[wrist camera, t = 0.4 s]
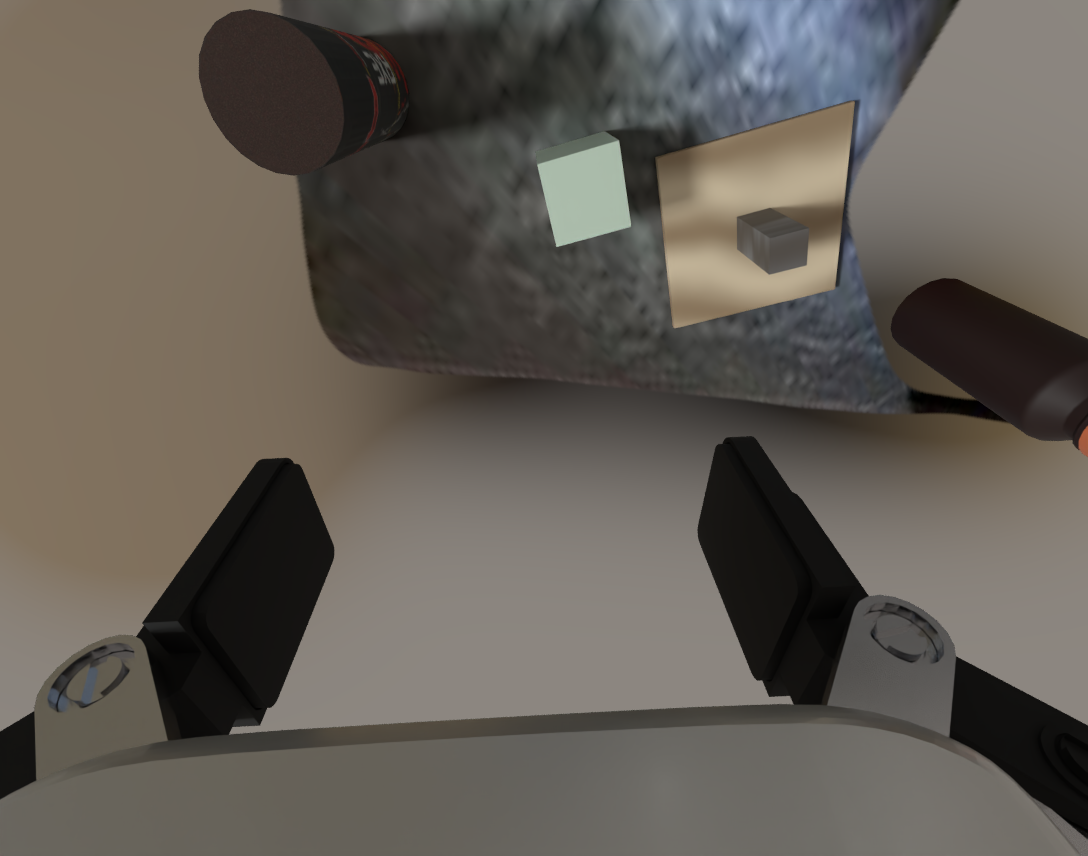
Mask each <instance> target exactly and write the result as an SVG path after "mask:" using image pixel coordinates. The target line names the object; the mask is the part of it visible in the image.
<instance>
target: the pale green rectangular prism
mask: <svg viewBox="0 0 1088 856" xmlns="http://www.w3.org/2000/svg"><path fill="white" fill-rule="evenodd" d="M535 153H536V159H537V165H538V169H539V174H540V178H541V182H542V186H543V191H544V195H545V199H546V204H547V208H548V212H549V216H550V221H551V225H552V229H553V233H554V238H555V242H556V246H557V247H558V246H562V245H566V244H569V243H573V242H577V241H580V240H584V239H587V238H591V237H595V236H598V235H602V234H606V233H609V232H613V231H617V230H620V229H624V228H628V227H631V222H630V215H629V208H628V200H627V193H626V186H625V179H624V172H623V165H622V158H621V151H620V144H619V140H618V139H616V138H615V137H613V136H611V135H610V134H608V133H607V132H605V131H603V132H600V133H596V134H593V135H590V136H586V137H583V138H580V139H576V140H573V141H570V142H566V143H563V144H559V145H556V146H553V147H549V148H546V149H543V150H539V151H536V152H535Z"/></svg>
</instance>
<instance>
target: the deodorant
mask: <svg viewBox="0 0 1088 856" xmlns="http://www.w3.org/2000/svg"><path fill="white" fill-rule="evenodd" d="M199 79H200V83H201V88H202V92H203V96H204V100H205V102H206V104H207V107H208V109H209V111H210V113H211V116H212V118H213V120H214V121H215V123H216V124H217V126H218V127H219V129H220V130H221V132H222V133H223V134H224V136H225V138H226V139H227V140H228V141H229V142H230V143H231V144H232V145H233V146H234V147H235V148H236V149H237V150H238V151H239V152H240V153H241V154H242V155H244V156H245V157H247V158H248V159H250V160H251V161H252V162H254V163H255V164H257V165H258V166H260V167H263V168H266V169H268V170H270V171H273V172H275V173H281V174H287V175H300V174H307V173H311V172H313V171H315V170H318V169H320V168H322V167H325V166H327V165H329V164H331V163H334V162H336V161H338V160H341V159H343V158H345V157H348V156H350V155H352V154H354V153H357V152H359V151H361V150H364V149H366V148H368V147H371V146H373V145H375V144H377V143H380V142H382V141H384V140H386V139H388V138H390V137H392V136H394V135H395V134H396V133H397V132H398V131H399V130H400V129H401V127H402V125H403V124H404V122H405V120H406V117H407V113H408V108H409V91H408V87H407V82H406V79H405V76H404V74H403V72H402V70H401V68H400V66H399V64H398V63H397V62H396V60H395V59H394V58H393V56H392V55H391V54H390V53H389V52H388V51H387V50H386V49H384V48H383V47H382V46H381V45H380V44H378V43H376V42H374V41H372V40H370V39H367V38H363V37H359V36H356V35H352V34H348V33H344V32H340V31H337V30H333V29H329V28H325V27H322V26H318V25H314V24H310V23H306V22H303V21H299V20H295V19H291V18H288V17H284V16H280V15H276V14H272V13H268V12H263V11H256V10H251V9H249V10H243V11H236V12H231V13H229V14H228V15H226V16H225V17H223V18H221V19H219V20H218V21H216V22H215V23H214V25H213V26H212V28H211V29H210V30H209V32H208V33H207V34H206V36H205V38H204V41H203V45H202V48H201V51H200V54H199Z"/></svg>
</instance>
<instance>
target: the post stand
mask: <svg viewBox="0 0 1088 856" xmlns="http://www.w3.org/2000/svg"><path fill="white" fill-rule="evenodd" d="M854 105H855V101H848V102H844V103H841V104H837V105H834V106H830V107H827V108H823V109H820V110H816V111H813V112H810V113H806V114H803V115H799V116H796V117H792V118H789V119H785V120H782V121H778V122H775V123H771V124H768V125H765V126H761V127H758V128H754V129H751V130H747V131H744V132H740V133H737V134H733V135H730V136H726V137H723V138H720V139H716V140H713V141H709V142H706V143H702V144H699V145H695V146H692V147H688V148H685V149H681V150H678V151H675V152H671V153H668V154H664V155H661V156H657V157H655V161H656V170H657V180H658V189H659V199H660V209H661V218H662V228H663V237H664V247H665V257H666V266H667V276H668V285H669V295H670V305H671V314H672V324H673V327H674V328H678V327H682V326H686V325H690V324H694V323H698V322H702V321H707V320H711V319H715V318H719V317H723V316H727V315H731V314H735V313H739V312H743V311H747V310H751V309H755V308H760V307H764V306H768V305H772V304H776V303H780V302H784V301H788V300H792V299H796V298H800V297H804V296H808V295H813V294H817V293H821V292H825V291H829V290H833V289H835V283H836V274H837V265H838V255H839V246H840V236H841V227H842V218H843V208H844V199H845V189H846V180H847V171H848V161H849V152H850V142H851V133H852V124H853V114H854Z"/></svg>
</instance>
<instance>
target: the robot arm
mask: <svg viewBox="0 0 1088 856" xmlns="http://www.w3.org/2000/svg"><path fill="white" fill-rule="evenodd" d="M698 539H699V542H700V545H701V548H702V550H703V553H704V555H705V558H706V560H707V563H708V565H709V568H710V570H711V573H712V575H713V578H714V580H715V583H716V585H717V588H718V590H719V593H720V595H721V598H722V600H723V603H724V605H725V608H726V610H727V613H728V615H729V618H730V620H731V623H732V625H733V628H734V630H735V633H736V635H737V637H738V640H739V643H740V645H741V648H742V650H743V653H744V655H745V658H746V660H747V663H748V665H749V668H750V670H751V673H752V675H753V676H754V678H755V679H756V680H762V681H763V683H764V686H765V687H766V690H767V693H768V695H769V697H775V696H790V697H791V699H792V701H793V704H794V705H790V704H772V705H742V706H712V707H687V708H668V709H649V710H631V711H630V710H629V711H611V712H591V713H570V714H552V715H534V716H517V717H498V718H481V719H463V720H446V721H428V722H411V723H394V724H379V725H362V726H345V727H329V728H313V729H297V730H281V731H269V732H256V733H244V734H231V735H229V733H230V731H231V729H232V727H240V726H258V725H260V724H261V721H262V719H263V717H264V714H265V712H266V710H267V708H270V707H272V706H273V705H274V704H275V703H276V701H277V699H278V697H279V694H280V692H281V689H282V687H283V684H284V682H285V679H286V677H287V674H288V672H289V669H290V667H291V664H292V662H293V660H294V657H295V655H296V652H297V650H298V647H299V645H300V642H301V640H302V637H303V634H304V632H305V630H306V627H307V625H308V622H309V619H310V617H311V615H312V612H313V610H314V607H315V605H316V602H317V600H318V597H319V595H320V592H321V590H322V587H323V585H324V582H325V579H326V577H327V575H328V572H329V570H330V567H331V565H332V562H333V559H334V545H333V543H332V540H331V538H330V535H329V533H328V530H327V528H326V525H325V523H324V521H323V518H322V516H321V513H320V511H319V508H318V506H317V504H316V501H315V499H314V496H313V494H312V491H311V489H310V486H309V484H308V482H307V479H306V477H305V474H304V472H303V470H302V468H301V466H300V465H299V464H294V463H293V461H292V460H291V459H289V458H275V459H262V460H259V461H258V462H257V463H256V464H255V466H254V467H253V469H252V470H251V471H250V473H249V474H248V475H247V477H246V478H245V480H244V481H243V482H242V484H241V485H240V487H239V488H238V490H237V491H236V492H235V494H234V495H233V496H232V498H231V500H230V501H229V502H228V503H227V505H226V507H225V508H224V509H223V511H222V512H221V513H220V515H219V516H218V518H217V519H216V520H215V522H214V523H213V524H212V526H211V527H210V529H209V530H208V531H207V533H206V534H205V536H204V537H203V538H202V540H201V542H200V543H199V544H198V546H197V547H196V548H195V550H194V551H193V553H192V554H191V555H190V557H189V558H188V560H187V561H186V562H185V564H184V565H183V567H182V568H181V569H180V571H179V572H178V574H177V575H176V576H175V578H174V579H173V581H172V582H171V583H170V585H169V586H168V588H167V589H166V590H165V592H164V593H163V595H162V596H161V597H160V599H159V600H158V602H157V603H156V604H155V606H154V607H153V609H152V610H151V611H150V613H149V614H148V616H147V617H146V618H145V620H144V621H143V625H144V626H143V628H142V629H141V631H140V632H139V633H138V635H137V636H136V637H135V636H133V635H118V636H113V637H108V638H105V639H102V640H100V641H98V642H95V643H93V644H91V645H88V646H87V647H85V648H84V649H82V650H81V651H79V652H77V653H75V654H74V655H72V656H71V657H70V658H69V659H67V660H66V661H65V662H64V663H62V664H61V665H60V666H59V667H57V669H56V670H55V671H54V672H53V673H52V674H51V675H50V676H49V678H48V679H47V680H46V681H45V682H44V684H43V686H42V688H41V689H40V691H39V693H38V695H37V698H36V702H35V707H34V712H32V713H30V714H29V715H27V716H25V717H24V718H22V719H20V720H19V721H17V722H15V723H14V724H12V725H10V726H9V727H7V728H5V729H4V730H2V731H0V856H1088V725H1086V724H1084V723H1082V722H1080V721H1078V720H1076V719H1074V718H1073V717H1071V716H1069V715H1067V714H1065V713H1063V712H1061V711H1059V710H1057V709H1055V708H1053V707H1052V706H1050V705H1048V704H1046V703H1044V702H1042V701H1040V700H1038V699H1036V698H1034V697H1033V696H1031V695H1029V694H1027V693H1025V692H1023V691H1021V690H1019V689H1017V688H1015V687H1013V686H1011V685H1010V684H1008V683H1006V682H1004V681H1002V680H1000V679H998V678H996V677H994V676H992V675H991V674H989V673H987V672H985V671H983V670H981V669H979V668H977V667H975V666H973V665H972V664H969V663H968V662H966V661H964V660H962V659H960V658H958V657H956V654H955V647H954V644H953V642H952V640H951V638H950V636H949V634H948V633H947V631H946V630H945V629H944V628H943V627H942V626H941V625H940V624H939V623H938V621H937V620H935V619H934V618H933V617H932V616H930V615H929V614H928V613H927V612H925V611H924V610H922V609H921V608H919V607H917V606H915V605H913V604H911V603H910V602H907V601H904V600H901V599H898V598H896V597H891V596H884V595H875V596H868V594H867V593H866V592H865V590H864V588H863V587H862V586H861V584H860V583H859V581H858V580H857V578H856V577H855V575H854V574H853V573H852V571H851V570H850V568H849V567H848V565H847V564H846V562H845V561H844V560H843V558H842V557H841V555H840V554H839V552H838V551H837V550H836V548H835V547H834V545H833V544H832V542H831V541H830V539H829V538H828V537H827V535H826V534H825V532H824V531H823V529H822V528H821V527H820V525H819V524H818V522H817V521H816V519H815V518H814V516H813V515H812V513H811V512H810V511H809V509H808V508H807V506H806V505H805V504H804V502H803V500H802V499H801V498H800V497H799V496H798V495H797V494H795V493H793V492H792V491H791V490H790V488H789V487H788V486H787V484H786V483H785V481H784V480H783V478H782V477H781V475H780V474H779V472H778V471H777V469H776V468H775V467H774V465H773V463H772V462H771V461H770V459H769V458H768V456H767V455H766V453H765V452H764V450H763V449H762V447H761V446H760V444H759V443H758V442H757V440H756V439H755V438H754V437H752V436H749V437H748V436H747V437H728V438H726V439H725V440H724V441H723V444H718V445H717V446H716V448H715V452H714V457H713V461H712V465H711V470H710V475H709V479H708V483H707V488H706V492H705V497H704V501H703V506H702V510H701V515H700V519H699V524H698Z"/></svg>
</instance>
